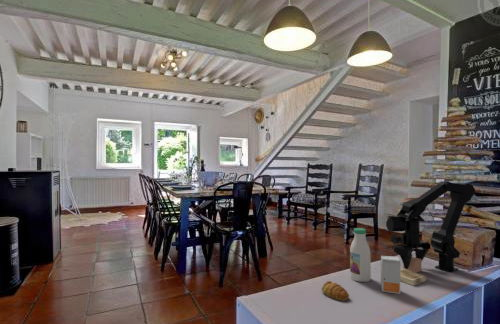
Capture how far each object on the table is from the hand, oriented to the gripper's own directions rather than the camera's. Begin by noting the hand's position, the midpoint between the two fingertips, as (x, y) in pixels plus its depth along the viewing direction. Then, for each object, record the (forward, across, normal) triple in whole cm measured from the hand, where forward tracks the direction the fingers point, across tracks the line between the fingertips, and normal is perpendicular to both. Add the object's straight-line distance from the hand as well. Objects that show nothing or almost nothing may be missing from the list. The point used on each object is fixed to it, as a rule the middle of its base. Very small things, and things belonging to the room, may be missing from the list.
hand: (412, 266), depth 122 cm
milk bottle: (+1, +28, -5) cm, 28 cm away
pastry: (+2, +48, 0) cm, 48 cm away
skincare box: (+1, +28, +8) cm, 29 cm away
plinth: (+1, +12, +5) cm, 13 cm away
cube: (+1, 0, 0) cm, 1 cm away
